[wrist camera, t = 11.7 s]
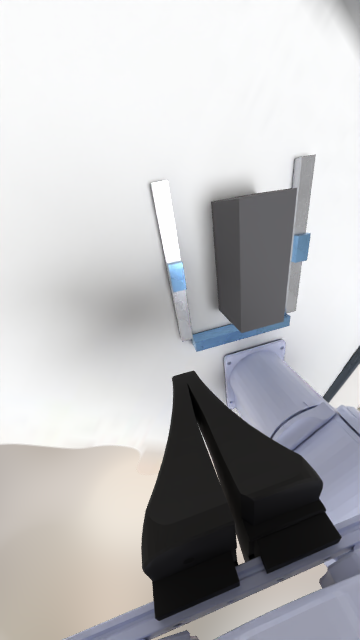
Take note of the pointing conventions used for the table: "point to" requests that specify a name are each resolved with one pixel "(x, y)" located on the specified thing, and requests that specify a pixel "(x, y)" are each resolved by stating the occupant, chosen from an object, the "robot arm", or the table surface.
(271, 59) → the table surface
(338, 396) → the phone case
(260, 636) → the robot arm
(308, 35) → the table surface
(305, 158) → the silver and blue frame
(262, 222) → the dark grey block
